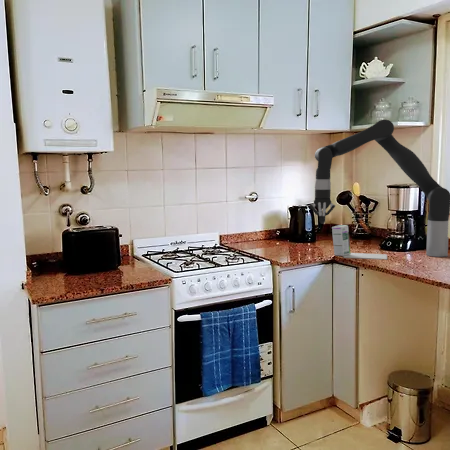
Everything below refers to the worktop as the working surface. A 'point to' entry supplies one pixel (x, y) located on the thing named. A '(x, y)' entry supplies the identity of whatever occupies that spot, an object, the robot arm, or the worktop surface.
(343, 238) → the syrup box
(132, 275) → the worktop surface
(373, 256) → the grey mat
